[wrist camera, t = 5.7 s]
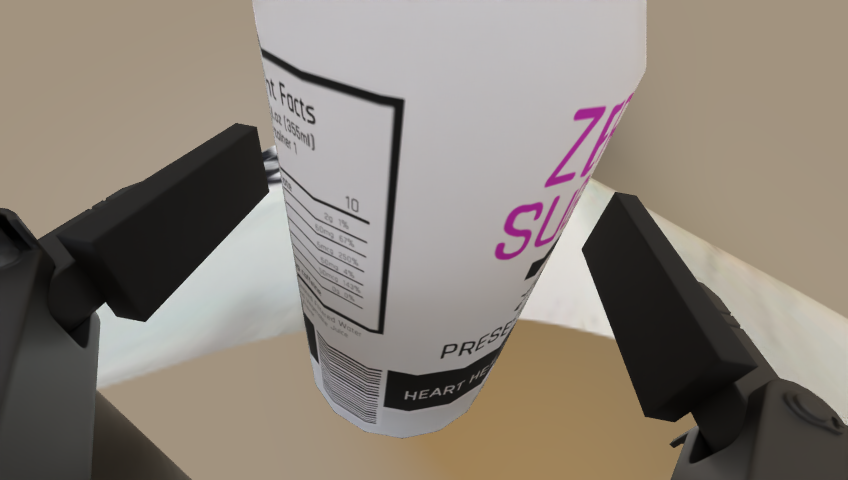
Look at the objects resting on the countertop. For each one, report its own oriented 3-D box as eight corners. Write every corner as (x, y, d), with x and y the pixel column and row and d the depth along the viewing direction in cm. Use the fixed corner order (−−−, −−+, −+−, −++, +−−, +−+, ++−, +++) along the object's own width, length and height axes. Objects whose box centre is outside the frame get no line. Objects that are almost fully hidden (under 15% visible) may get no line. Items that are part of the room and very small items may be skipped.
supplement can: (343, 276, 19) (329, -77, 10) (482, 301, 19) (608, -29, 10) (279, 423, 13) (64, -169, 3) (486, 461, 13) (859, -33, 3)
